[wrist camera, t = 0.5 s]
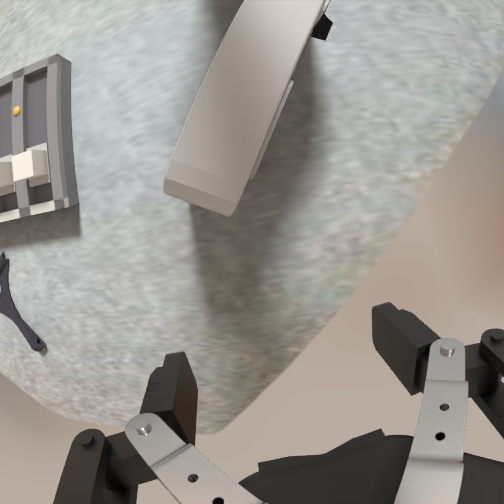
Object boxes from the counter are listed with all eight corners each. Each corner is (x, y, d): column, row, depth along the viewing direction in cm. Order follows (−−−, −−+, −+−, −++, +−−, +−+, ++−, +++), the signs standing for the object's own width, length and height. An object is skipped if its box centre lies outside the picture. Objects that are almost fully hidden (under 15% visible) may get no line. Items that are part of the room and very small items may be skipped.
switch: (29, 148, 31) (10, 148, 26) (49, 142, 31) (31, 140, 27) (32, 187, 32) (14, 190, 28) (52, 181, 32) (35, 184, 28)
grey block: (244, 204, 39) (263, 235, 21) (185, 183, 37) (156, 196, 20) (322, 17, 33) (378, -52, 15) (270, -4, 31) (299, -86, 14)
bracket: (30, 364, 42) (23, 372, 40) (-23, 303, 39) (-32, 309, 36) (66, 320, 41) (59, 328, 38) (5, 250, 37) (-4, 255, 35)
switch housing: (-23, 103, 30) (-40, 100, 26) (71, 62, 31) (57, 53, 27) (-15, 224, 35) (-32, 230, 31) (79, 203, 36) (64, 208, 32)
